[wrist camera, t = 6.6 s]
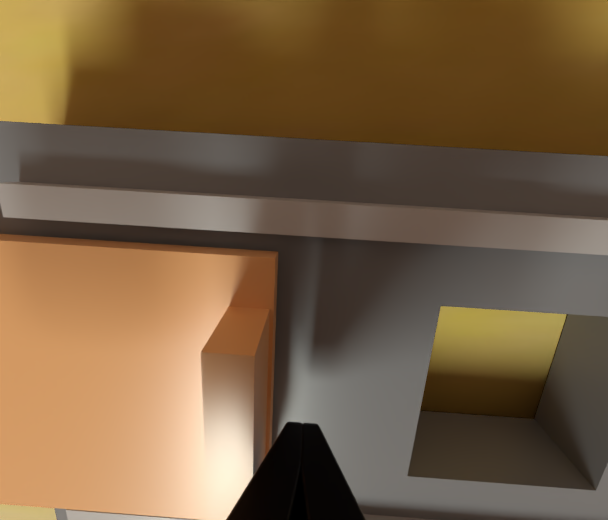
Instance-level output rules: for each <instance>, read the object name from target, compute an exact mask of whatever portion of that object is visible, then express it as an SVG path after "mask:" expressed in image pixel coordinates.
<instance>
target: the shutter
mask: <svg viewBox="0 0 608 520" xmlns="http://www.w3.org/2000/svg"><path fill="white" fill-rule="evenodd" d="M277 274H278V252H277V251H262V250H246V249H230V248H215V247H199V246H183V245H168V244H152V243H137V242H121V241H105V240H90V239H74V238H58V237H43V236H27V235H11V234H0V504H8V505H21V506H34V507H46V508H59V509H72V510H85V511H97V512H110V513H123V514H135V515H148V516H161V517H174V518H186V519H199V520H226V519H227V517H228V516H229V514H230V512H231V511H232V509H233V508H234V506H235V504H236V503H237V501H238V500H239V498H240V496H241V495H242V493H243V492H244V490H245V488H246V487H247V485H248V484H249V482H250V480H251V479H252V477H253V476H254V474H255V472H256V471H257V469H258V467H259V466H260V464H261V463H262V461H263V459H264V458H265V456H266V455H267V453H268V451H269V450H270V448H271V446H272V417H273V389H274V360H275V331H276V303H277Z"/></svg>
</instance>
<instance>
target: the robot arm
mask: <svg viewBox="0 0 608 520" xmlns="http://www.w3.org/2000/svg"><path fill="white" fill-rule="evenodd" d="M226 520H366V519H365V517H364V515H363V513H362V511H361V509H360V507H359V505H358V503H357V501H356V499H355V497H354V495H353V493H352V491H351V489H350V487H349V485H348V483H347V481H346V479H345V477H344V475H343V473H342V471H341V469H340V467H339V465H338V463H337V460H336V458H335V456H334V454H333V452H332V450H331V448H330V446H329V444H328V442H327V440H326V438H325V436H324V434H323V432H322V430H321V428H320V426H319V425H318V424H316V423H301V422H287V423H286V424H285V426H284V427H283V429H282V431H281V432H280V434H279V435H278V437H277V439H276V440H275V442H274V443H273V445H272V447H271V448H270V450H269V451H268V453H267V455H266V456H265V458H264V459H263V461H262V463H261V464H260V466H259V467H258V469H257V471H256V472H255V474H254V476H253V477H252V479H251V480H250V482H249V484H248V485H247V487H246V488H245V490H244V492H243V493H242V495H241V496H240V498H239V500H238V501H237V503H236V504H235V506H234V508H233V509H232V511H231V512H230V514H229V516H228V517H227V519H226Z"/></svg>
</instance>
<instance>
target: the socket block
mask: <svg viewBox="0 0 608 520" xmlns="http://www.w3.org/2000/svg"><path fill="white" fill-rule="evenodd" d="M0 234H11V235H27V236H43V237H58V238H74V239H90V240H105V241H121V242H137V243H152V244H168V245H183V246H199V247H215V248H230V249H246V250H262V251H277V252H278V274H277V303H276V331H275V360H274V389H273V417H272V445H273V443H274V442H275V440H276V439H277V437H278V435H279V434H280V432H281V431H282V429H283V427H284V426H285V424H286V423H287V422H301V423H316V424H318V425H319V426H320V428H321V430H322V432H323V434H324V436H325V438H326V440H327V442H328V444H329V446H330V448H331V450H332V452H333V454H334V456H335V458H336V460H337V463H338V465H339V467H340V469H341V471H342V473H343V475H344V477H345V479H346V481H347V483H348V485H349V487H350V489H351V491H352V493H353V495H354V497H355V499H356V501H357V503H358V505H359V507H360V509H361V511H362V513H363V515H364V517H365V519H366V520H608V156H595V155H578V154H560V153H543V152H526V151H508V150H491V149H474V148H457V147H439V146H422V145H405V144H387V143H370V142H353V141H335V140H318V139H301V138H283V137H266V136H249V135H232V134H214V133H197V132H180V131H162V130H145V129H128V128H110V127H93V126H76V125H58V124H41V123H24V122H7V121H0ZM440 306H452V307H467V308H482V309H497V310H512V311H527V312H542V313H557V314H568V316H567V319H566V322H565V325H564V328H563V331H562V334H561V337H560V340H559V344H558V347H557V350H556V353H555V356H554V359H553V362H552V365H551V368H550V371H549V375H548V378H547V381H546V384H545V387H544V390H543V393H542V396H541V399H540V403H539V406H538V409H537V412H536V415H535V418H534V419H528V418H514V417H500V416H486V415H472V414H459V413H445V412H431V411H420V409H421V403H422V398H423V393H424V388H425V383H426V378H427V373H428V368H429V363H430V357H431V352H432V347H433V342H434V337H435V332H436V327H437V322H438V316H439V311H440ZM271 447H272V446H271ZM55 513H56V517H57V520H199V519H186V518H174V517H161V516H148V515H135V514H123V513H110V512H97V511H85V510H72V509H59V508H55Z"/></svg>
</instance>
